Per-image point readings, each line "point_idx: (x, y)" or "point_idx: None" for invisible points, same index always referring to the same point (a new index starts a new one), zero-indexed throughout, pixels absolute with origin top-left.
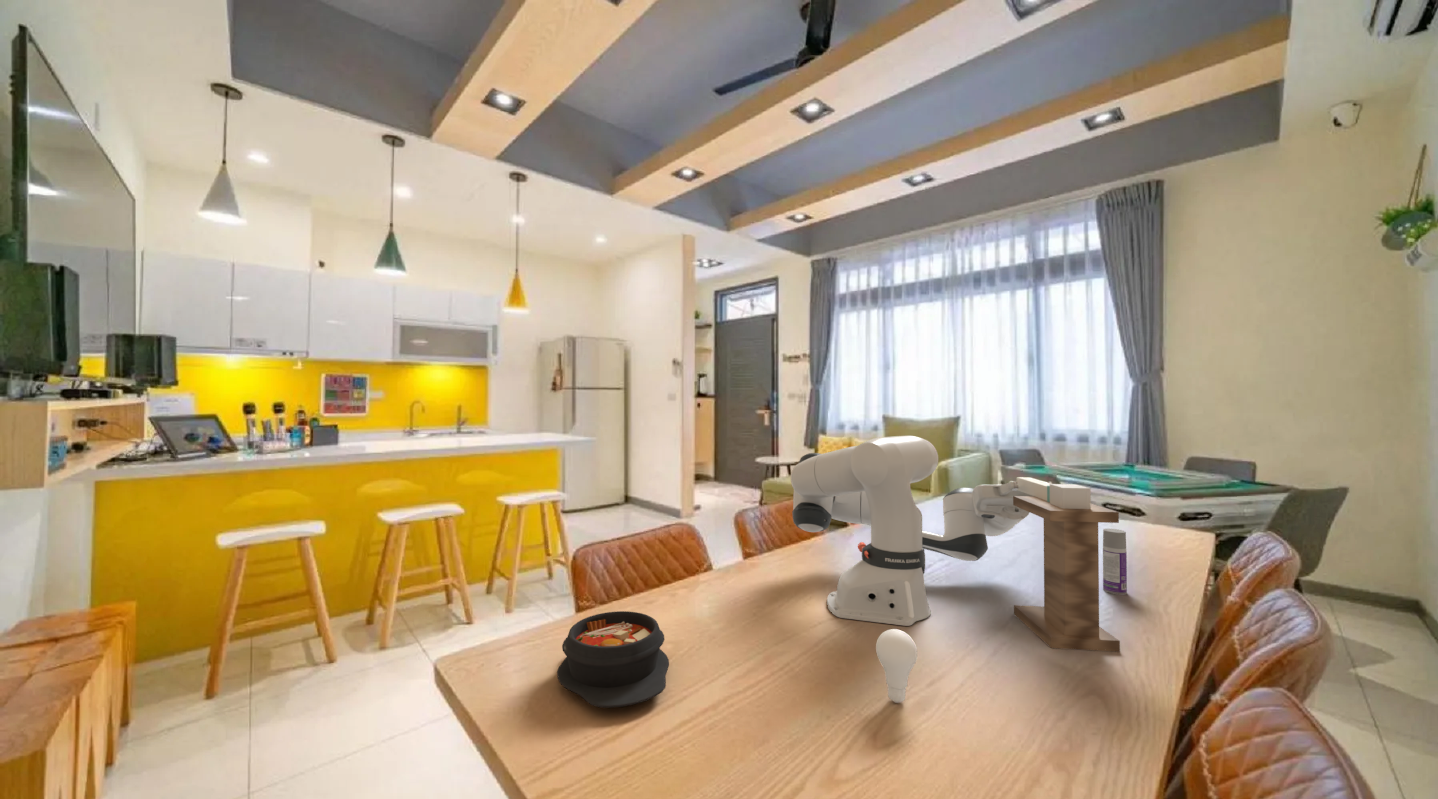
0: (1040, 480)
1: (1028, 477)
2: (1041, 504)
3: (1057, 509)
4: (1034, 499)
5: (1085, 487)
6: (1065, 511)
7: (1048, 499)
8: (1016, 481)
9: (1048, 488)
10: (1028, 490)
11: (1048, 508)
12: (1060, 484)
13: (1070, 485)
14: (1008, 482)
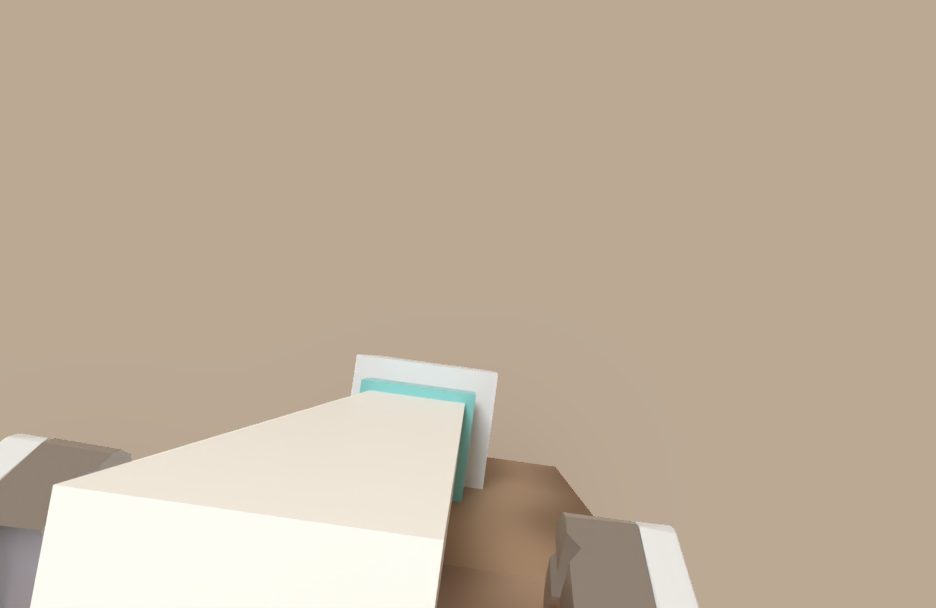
0: (273, 420)
1: (132, 485)
2: (540, 490)
3: (514, 466)
4: (515, 528)
5: (383, 356)
6: (497, 460)
7: (463, 482)
8: (570, 514)
9: (473, 410)
10: (441, 571)
11: (545, 472)
12: (445, 366)
13: (414, 361)
14: (692, 588)
